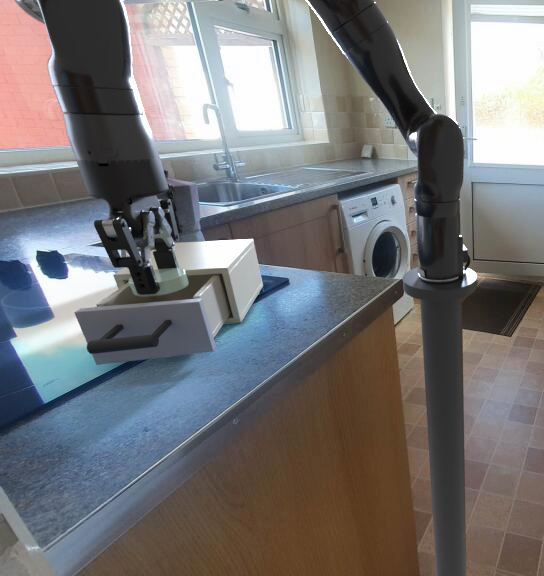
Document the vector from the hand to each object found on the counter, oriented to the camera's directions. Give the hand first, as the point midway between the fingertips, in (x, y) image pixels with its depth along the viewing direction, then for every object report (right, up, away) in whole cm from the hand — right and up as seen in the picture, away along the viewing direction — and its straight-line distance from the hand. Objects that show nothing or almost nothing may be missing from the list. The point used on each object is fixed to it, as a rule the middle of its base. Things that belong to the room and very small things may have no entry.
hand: (160, 283), depth 55 cm
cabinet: (-4, -4, +14) cm, 15 cm away
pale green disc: (0, -1, 0) cm, 1 cm away
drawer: (0, -8, +1) cm, 8 cm away
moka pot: (-19, +3, +30) cm, 35 cm away
